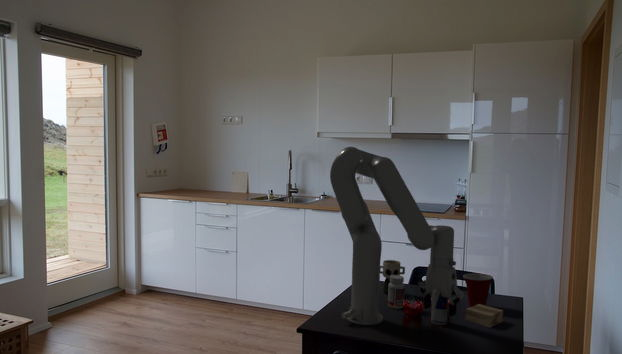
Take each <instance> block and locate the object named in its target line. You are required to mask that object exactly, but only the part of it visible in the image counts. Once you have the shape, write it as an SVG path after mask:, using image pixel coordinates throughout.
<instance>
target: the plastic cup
mask: <svg viewBox="0 0 622 354" xmlns="http://www.w3.org/2000/svg"><path fill="white" fill-rule="evenodd" d="M462 277H463V279H464V281H465V287H466V292H467V293H466V294H467V300H468V306H469V308H470V307H472V306H475V305H477V304H481V305H485V306H487V301H488V297H489V292H490V288H491V284H492V280H493V278H494V276H493V275H490V274H487V273H466V274H463V275H462Z"/></svg>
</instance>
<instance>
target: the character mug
mask: <svg viewBox="0 0 622 354" xmlns="http://www.w3.org/2000/svg"><path fill="white" fill-rule="evenodd" d="M381 269H382V271H381ZM401 270H402V271H401ZM381 274H382V276H383V278H384V283H383V289H382V290H383V293H385V294H388V285H389V283H390V276H391V275H400V276H403V275H405V274H406V267H405V266H401V262H400V261H399V260H395V259H386V260H383V261H382V265H380V275H381Z"/></svg>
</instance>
